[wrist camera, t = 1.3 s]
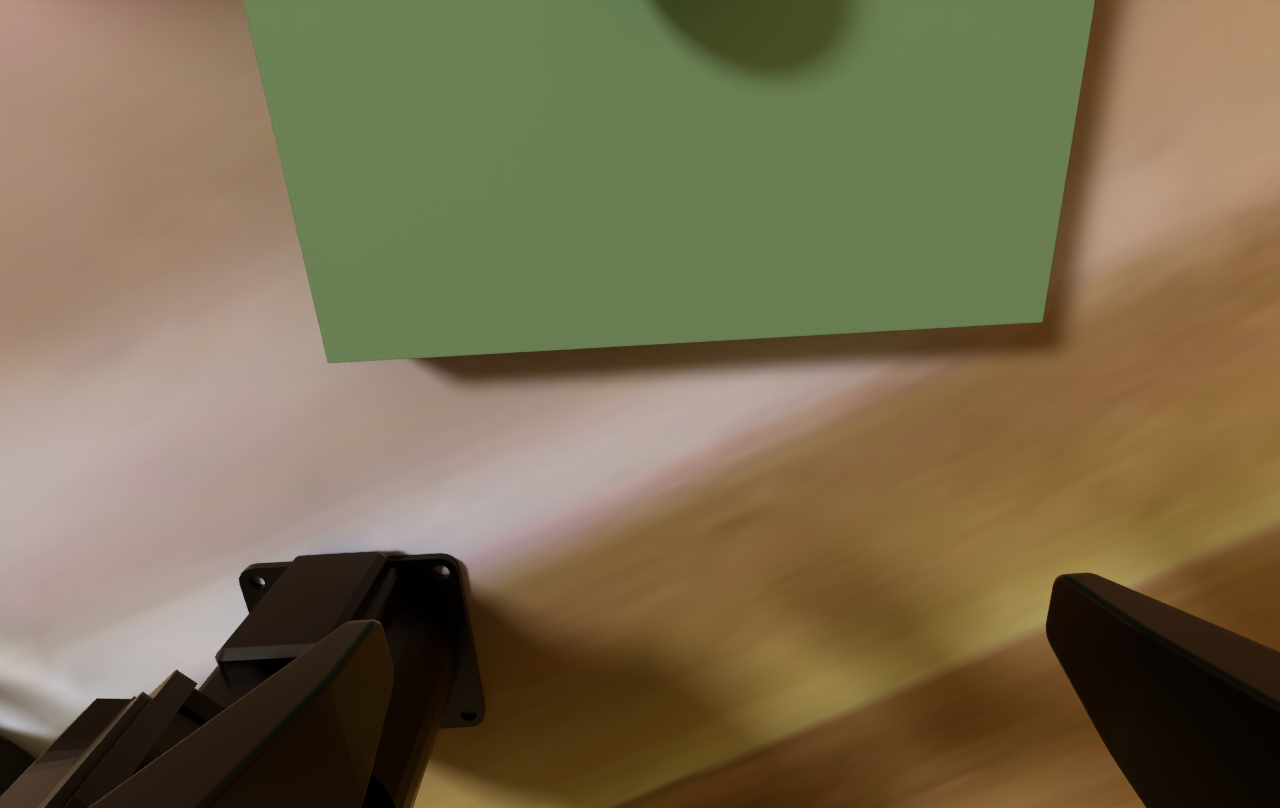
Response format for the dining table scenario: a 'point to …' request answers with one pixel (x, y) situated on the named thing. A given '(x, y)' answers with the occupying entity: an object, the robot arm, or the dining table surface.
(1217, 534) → the dining table surface
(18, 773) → the mug
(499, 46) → the putting mat
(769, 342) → the dining table surface
